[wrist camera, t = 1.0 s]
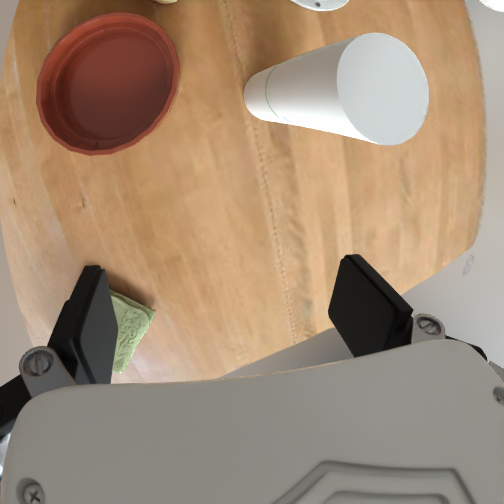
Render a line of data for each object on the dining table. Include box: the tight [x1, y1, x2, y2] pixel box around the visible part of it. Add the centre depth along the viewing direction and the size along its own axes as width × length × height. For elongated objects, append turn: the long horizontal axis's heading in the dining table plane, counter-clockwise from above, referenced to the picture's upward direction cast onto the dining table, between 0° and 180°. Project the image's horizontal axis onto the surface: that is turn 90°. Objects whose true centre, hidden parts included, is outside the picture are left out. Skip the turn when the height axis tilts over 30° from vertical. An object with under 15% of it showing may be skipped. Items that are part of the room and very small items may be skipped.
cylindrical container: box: [243, 33, 429, 146], centre depth 25 cm, size 7×7×25 cm
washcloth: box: [110, 290, 156, 374], centre depth 45 cm, size 13×18×3 cm
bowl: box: [36, 12, 180, 156], centre depth 28 cm, size 17×17×6 cm
